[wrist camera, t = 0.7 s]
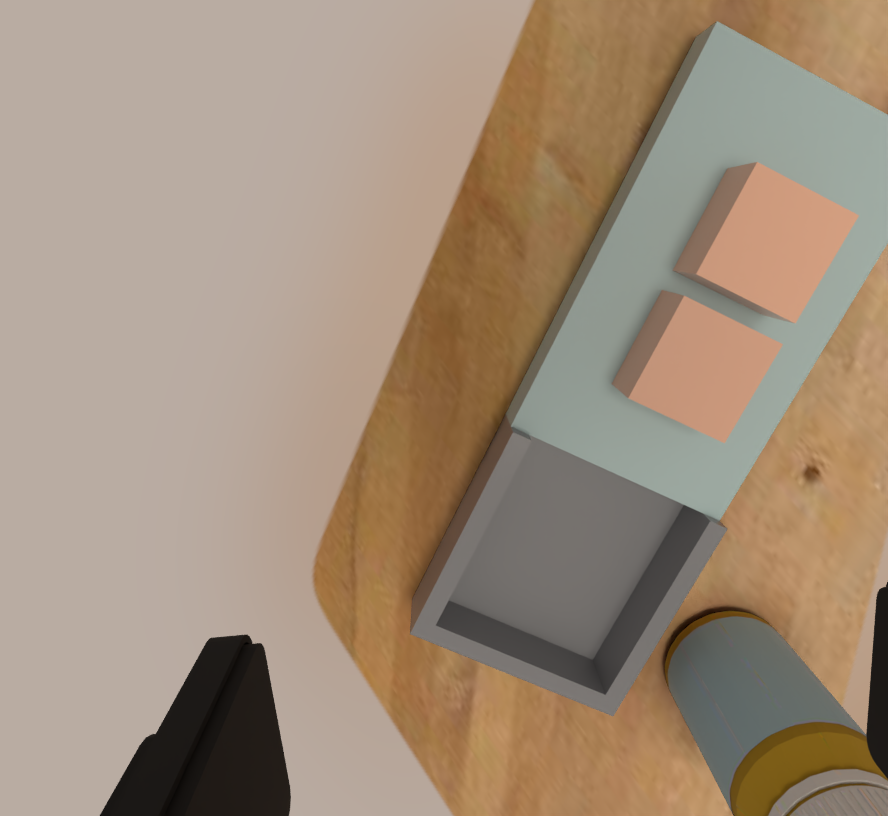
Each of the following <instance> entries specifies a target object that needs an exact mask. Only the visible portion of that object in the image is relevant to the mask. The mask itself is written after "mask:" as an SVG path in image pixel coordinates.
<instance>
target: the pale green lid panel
mask: <svg viewBox="0 0 888 816" xmlns="http://www.w3.org/2000/svg"><path fill="white" fill-rule="evenodd" d="M755 162H758V163H760V164H762V165H764V166H766V167H768V168H770V169H772V170H774V171H776V172H777V173H779V174H781V175H783V176H785V177H787V178H789V179H791V180H793V181H795V182H796V183H798V184H800V185H802V186H804V187H806V188H808V189H810V190H812V191H814V192H815V193H817V194H819V195H821V196H823V197H825V198H827V199H829V200H831V201H833V202H835V203H836V204H838V205H840V206H842V207H844V208H846V209H848V210H850V211H852V212H854V213H855V214H857V215H859V217H858V218H857V220H856V222H855V223H854V225H853V227H852V228H851V230H850V232H849V233H848V235H847V237H846V239H845V240H844V242H843V244H842V245H841V247H840V249H839V250H838V252H837V254H836V256H835V257H834V259H833V261H832V262H831V264H830V266H829V267H828V269H827V271H826V272H825V274H824V276H823V278H822V279H821V281H820V283H819V284H818V286H817V288H816V289H815V291H814V293H813V294H812V296H811V298H810V300H809V301H808V303H807V305H806V306H805V308H804V310H803V311H802V313H801V315H800V316H799V318H798V320H797V322H796V323H791V322H787V321H783V320H779V319H775V318H771V317H768V316H764V315H762V314H760V313H758V312H756V311H753V310H751V309H749V308H747V307H745V306H743V305H741V304H739V303H737V302H735V301H733V300H731V299H729V298H727V297H725V296H723V295H721V294H719V293H717V292H715V291H713V290H711V289H709V288H707V287H705V286H703V285H701V284H699V283H697V282H695V281H693V280H691V279H689V278H687V277H685V276H683V275H681V274H679V273H677V272H675V271H673V269H674V267H675V265H676V263H677V261H678V259H679V257H680V256H681V254H682V252H683V250H684V248H685V246H686V244H687V242H688V241H689V239H690V237H691V235H692V233H693V231H694V229H695V228H696V226H697V224H698V222H699V220H700V218H701V216H702V215H703V213H704V211H705V209H706V207H707V205H708V203H709V202H710V200H711V198H712V196H713V194H714V192H715V190H716V189H717V187H718V185H719V183H720V181H721V179H722V177H723V175H724V174H725V172H726V170H727V168H731V167H736V166H741V165H745V164H750V163H755ZM887 243H888V115H887V114H885V113H883V112H882V111H880V110H878V109H876V108H874V107H872V106H871V105H869V104H867V103H865V102H863V101H862V100H860V99H858V98H856V97H854V96H852V95H851V94H849V93H847V92H845V91H843V90H841V89H840V88H838V87H836V86H834V85H832V84H831V83H829V82H827V81H825V80H823V79H821V78H820V77H818V76H816V75H814V74H812V73H811V72H809V71H807V70H805V69H803V68H801V67H800V66H798V65H796V64H794V63H792V62H791V61H789V60H787V59H785V58H783V57H781V56H780V55H778V54H776V53H774V52H772V51H770V50H769V49H767V48H765V47H763V46H761V45H760V44H758V43H756V42H754V41H752V40H750V39H749V38H747V37H745V36H743V35H741V34H740V33H738V32H736V31H734V30H732V29H730V28H729V27H727V26H725V25H723V24H721V23H719V22H718V21H717V22H715V23H714V24H713V25H711V26H710V27H709V28H707V29H706V30H705V31H703V32H702V33H701V34H699V35H698V36H697V37H696V38H695V40H694V42H693V44H692V46H691V48H690V50H689V52H688V54H687V56H686V58H685V60H684V62H683V64H682V66H681V68H680V70H679V72H678V73H677V75H676V77H675V79H674V81H673V83H672V85H671V87H670V89H669V91H668V93H667V95H666V97H665V99H664V101H663V103H662V105H661V107H660V109H659V111H658V113H657V115H656V117H655V119H654V121H653V123H652V125H651V127H650V129H649V131H648V133H647V135H646V137H645V139H644V141H643V143H642V145H641V147H640V149H639V151H638V153H637V155H636V157H635V159H634V161H633V163H632V165H631V167H630V169H629V171H628V173H627V175H626V176H625V178H624V180H623V182H622V184H621V186H620V188H619V190H618V192H617V194H616V196H615V198H614V200H613V202H612V204H611V206H610V208H609V210H608V212H607V214H606V216H605V218H604V220H603V222H602V224H601V226H600V228H599V230H598V232H597V234H596V236H595V238H594V240H593V242H592V244H591V246H590V248H589V250H588V252H587V254H586V256H585V258H584V260H583V262H582V264H581V266H580V268H579V270H578V272H577V274H576V276H575V278H574V279H573V281H572V283H571V285H570V287H569V289H568V291H567V293H566V295H565V297H564V299H563V301H562V303H561V305H560V307H559V309H558V311H557V313H556V315H555V317H554V319H553V321H552V323H551V325H550V327H549V329H548V331H547V333H546V335H545V337H544V339H543V341H542V343H541V345H540V347H539V349H538V351H537V353H536V355H535V357H534V359H533V361H532V363H531V365H530V367H529V369H528V371H527V373H526V375H525V377H524V379H523V381H522V383H521V384H520V386H519V388H518V390H517V392H516V394H515V396H514V398H513V400H512V402H511V404H510V406H509V408H508V410H507V412H506V415H507V418H508V421H509V423H510V426H511V427H513V428H515V429H517V430H520V431H522V432H524V433H526V434H528V435H531V436H533V437H535V438H537V439H540V440H542V441H544V442H546V443H548V444H551V445H553V446H555V447H557V448H559V449H562V450H564V451H566V452H568V453H571V454H573V455H575V456H577V457H579V458H582V459H584V460H586V461H588V462H590V463H593V464H595V465H597V466H599V467H602V468H604V469H606V470H608V471H610V472H613V473H615V474H617V475H619V476H621V477H624V478H626V479H628V480H630V481H632V482H635V483H637V484H639V485H641V486H644V487H646V488H648V489H650V490H652V491H655V492H657V493H659V494H661V495H663V496H666V497H668V498H670V499H672V500H675V501H677V502H679V503H681V504H683V505H686V506H688V507H690V508H692V509H694V510H697V511H699V512H701V513H703V514H706V515H708V516H710V517H712V518H714V519H717V520H719V521H720V519H721V517H722V516H723V514H724V513H725V511H726V509H727V508H728V506H729V504H730V503H731V501H732V499H733V498H734V496H735V494H736V493H737V491H738V489H739V488H740V486H741V484H742V483H743V481H744V480H745V478H746V476H747V475H748V473H749V471H750V470H751V468H752V466H753V465H754V463H755V461H756V460H757V458H758V456H759V455H760V453H761V451H762V450H763V448H764V446H765V445H766V443H767V442H768V440H769V438H770V437H771V435H772V433H773V432H774V430H775V428H776V427H777V425H778V423H779V422H780V420H781V418H782V417H783V415H784V413H785V412H786V410H787V409H788V407H789V405H790V404H791V402H792V400H793V399H794V397H795V395H796V394H797V392H798V390H799V389H800V387H801V385H802V384H803V382H804V380H805V379H806V377H807V375H808V374H809V372H810V371H811V369H812V367H813V366H814V364H815V362H816V361H817V359H818V357H819V356H820V354H821V352H822V351H823V349H824V347H825V346H826V344H827V342H828V341H829V339H830V337H831V336H832V334H833V333H834V331H835V329H836V328H837V326H838V324H839V323H840V321H841V319H842V318H843V316H844V314H845V313H846V311H847V309H848V308H849V306H850V304H851V303H852V301H853V300H854V298H855V296H856V295H857V293H858V291H859V290H860V288H861V286H862V285H863V283H864V281H865V280H866V278H867V276H868V275H869V273H870V271H871V270H872V268H873V266H874V265H875V263H876V262H877V260H878V258H879V257H880V255H881V253H882V252H883V250H884V248H885V247H886V245H887ZM662 290H664V291H668V292H672V293H676V294H680V295H684V296H686V297H688V298H690V299H692V300H694V301H696V302H698V303H700V304H702V305H704V306H706V307H708V308H711V309H713V310H715V311H717V312H719V313H721V314H723V315H725V316H727V317H729V318H731V319H733V320H735V321H737V322H739V323H741V324H743V325H745V326H747V327H749V328H751V329H753V330H755V331H757V332H759V333H761V334H763V335H765V336H767V337H769V338H771V339H773V340H775V341H778V342H780V343H782V344H783V345H782V347H781V349H780V350H779V352H778V354H777V355H776V357H775V359H774V361H773V362H772V364H771V366H770V367H769V369H768V371H767V372H766V374H765V376H764V377H763V379H762V381H761V383H760V384H759V386H758V388H757V389H756V391H755V393H754V394H753V396H752V398H751V400H750V401H749V403H748V405H747V406H746V408H745V410H744V411H743V413H742V415H741V416H740V418H739V420H738V422H737V423H736V425H735V427H734V428H733V430H732V432H731V433H730V435H729V437H728V438H727V440H726V442H725V443H723V442H721V441H719V440H716V439H714V438H712V437H710V436H708V435H706V434H704V433H701V432H699V431H697V430H695V429H693V428H691V427H689V426H686V425H684V424H682V423H680V422H678V421H676V420H674V419H671V418H669V417H667V416H665V415H663V414H661V413H659V412H656V411H654V410H652V409H650V408H648V407H646V406H644V405H642V404H639V403H637V402H635V401H633V400H631V399H629V398H627V397H626V396H625V395H624V394H623V393H622V392H620V391H619V390H618V389H617V388H616V387H615V386H613V385H612V382H613V380H614V378H615V377H616V375H617V373H618V371H619V369H620V367H621V365H622V363H623V362H624V360H625V358H626V356H627V354H628V352H629V350H630V349H631V347H632V345H633V343H634V341H635V339H636V337H637V336H638V334H639V332H640V330H641V328H642V326H643V324H644V323H645V321H646V319H647V317H648V315H649V313H650V311H651V310H652V308H653V306H654V304H655V302H656V300H657V298H658V296H659V295H660V293H661V291H662Z"/></svg>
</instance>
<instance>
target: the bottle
mask: <svg viewBox="0 0 888 816" xmlns="http://www.w3.org/2000/svg"><path fill="white" fill-rule="evenodd" d="M665 676H666V682H667V685H668V687H669V689H670V692H671V694H672V696H673V698H674V700H675V702H676V704H677V706H678V708H679V710H680V712H681V714H682V716H683V718H684V720H685V722H686V724H687V725H688V727H689V729H690V731H691V733H692V735H693V737H694V739H695V741H696V743H697V745H698V747H699V749H700V751H701V753H702V755H703V757H704V759H705V761H706V763H707V765H708V766H709V768H710V770H711V772H712V774H713V776H714V778H715V780H716V782H717V784H718V786H719V788H720V790H721V792H722V794H723V796H724V798H725V800H726V802H727V804H728V806H729V807H730V809H731V811H732V813H733V815H734V816H888V779H887V777H886V776H885V775H884V774H883V773H882V771H881V770H880V769H879V768H878V766H877V765H876V764H875V762H874V761H873V759H872V757H871V754H870V752H869V749H868V745H867V735H866V734H865V733H864V732H863V731H862V729H861V728H860V727H859V726H858V725H857V724H856V722H855V721H854V720H853V719H852V718H851V717H850V715H849V714H848V713H847V712H846V711H845V710H844V708H843V707H842V706H841V705H840V704H839V703H838V701H837V700H836V699H835V698H834V697H833V696H832V694H831V693H830V692H829V691H828V690H827V689H826V687H825V686H824V685H823V684H822V683H821V682H820V680H819V679H818V678H817V677H816V676H815V675H814V673H813V672H812V671H811V670H810V669H809V668H808V666H807V665H806V664H805V663H804V662H803V661H802V660H801V658H800V657H799V656H798V655H797V654H796V653H795V651H794V650H793V649H792V648H791V647H790V646H789V644H788V643H787V642H786V641H785V640H784V639H783V637H782V636H781V635H780V634H779V633H778V632H777V631H776V630H775V629H774V628H773V627H772V626H771V625H770V624H769V623H768V622H766V621H765V620H764V619H761V618H759V617H757V616H755V615H753V614H750V613H746V612H738V611H724V612H718V613H713V614H710V615H707V616H705V617H703V618H701V619H698V620H696V621H694V622H693V623H691V624H690V625H689V626H688V627H687V628H685V629H684V630H683V631H682V632H681V633H680V634H679V635H678V636H677V637H676V639H675V641H674V642H673V644H672V645H671V647H670V649H669V651H668V654H667V658H666V662H665Z"/></svg>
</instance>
